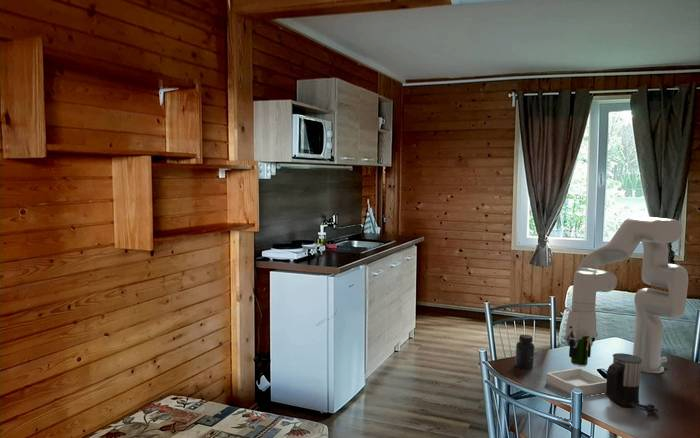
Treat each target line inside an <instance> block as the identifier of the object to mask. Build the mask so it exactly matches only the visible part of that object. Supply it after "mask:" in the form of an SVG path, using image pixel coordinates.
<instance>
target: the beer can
mask: <svg viewBox="0 0 700 438" xmlns="http://www.w3.org/2000/svg"><path fill="white" fill-rule="evenodd" d="M573 338H574V337H573ZM574 342H575V340H573V343H574ZM576 348H578V356H577V359H573V358H571V357H570V363H571V364H572V365H573V366H574V367H578V368H583V367H585V368H586V366H588V359H589V358H588V348H589V334H588V333H585V335H584V336H583V337H582V339H581V340H579V341H578V345H577V347H576Z"/></svg>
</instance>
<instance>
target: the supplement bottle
mask: <svg viewBox="0 0 700 438" xmlns="http://www.w3.org/2000/svg"><path fill="white" fill-rule="evenodd" d="M518 337H519V338H518V340H519V341H518V342H516V343H515V344H516V347H515V358H514V359H515V360H514V364H515V366H516V367H517V368H520V369H525V370H526V369H527V370H530V369H533V368H534V359H535V349H536V347H535V344H534V343H533V336H532V335H529V334H520V335H519V336H518Z"/></svg>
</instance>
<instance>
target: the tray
mask: <svg viewBox="0 0 700 438" xmlns="http://www.w3.org/2000/svg"><path fill="white" fill-rule="evenodd" d="M606 382H607V378H604V377H602V376H600V375H598V374H595V373H592V372H591V371H588V370H586V369H584V368H583V367H577V368H576V367H575V368H569V369H563V370H562V369H561V370H557V371H551V372H546V374H545V384H546V385H547V386H549V387H552V388H554V389H556V390H557V391H559V392H561V393H562V394H565V395H567V396H569V397H571V392H572V390H573V389H574V388H579V389H581V390H582V391H583V398H588V397H587V396H589V397H592V396H591V395H595V396H597V395H596V394H600V395H603V394H602V393H605V394H606ZM583 398H582V399H583Z"/></svg>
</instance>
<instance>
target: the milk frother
mask: <svg viewBox="0 0 700 438" xmlns="http://www.w3.org/2000/svg"><path fill="white" fill-rule="evenodd" d="M612 359H613V361H612V363H611V364H610V365H609V366H608V367H607V370H606V379H607V382H606V393H605V395H606V396H607V397H608V398H609V399H610V400H611V401H612V402H615V403H617V402H618V403H617V404H620V403H621V404H622V405H625V404H626V406H634V407H635V406H636V407H638V408H641V409H644V410H646V411H647V413H650V414H654V412H655V413H656V412H658V411H659V410H658V408H655V405H654V404H650V403H648V404H647V405H646V404H640V398H639V397H640V382H641V373H642V372H641V362H642V361H643V360H642V359H641V358H639V357H637V356H634V355H633V354H628V353H623V352H622V353H619V352H618V353H613V354H612ZM621 404H620V405H621Z"/></svg>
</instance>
